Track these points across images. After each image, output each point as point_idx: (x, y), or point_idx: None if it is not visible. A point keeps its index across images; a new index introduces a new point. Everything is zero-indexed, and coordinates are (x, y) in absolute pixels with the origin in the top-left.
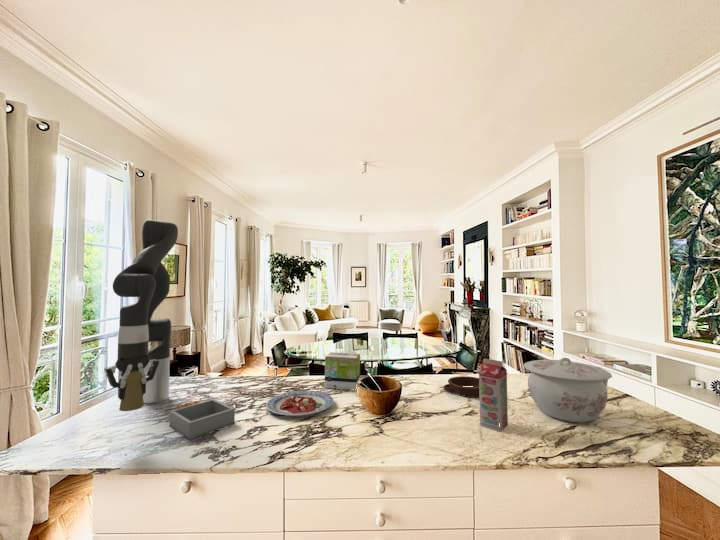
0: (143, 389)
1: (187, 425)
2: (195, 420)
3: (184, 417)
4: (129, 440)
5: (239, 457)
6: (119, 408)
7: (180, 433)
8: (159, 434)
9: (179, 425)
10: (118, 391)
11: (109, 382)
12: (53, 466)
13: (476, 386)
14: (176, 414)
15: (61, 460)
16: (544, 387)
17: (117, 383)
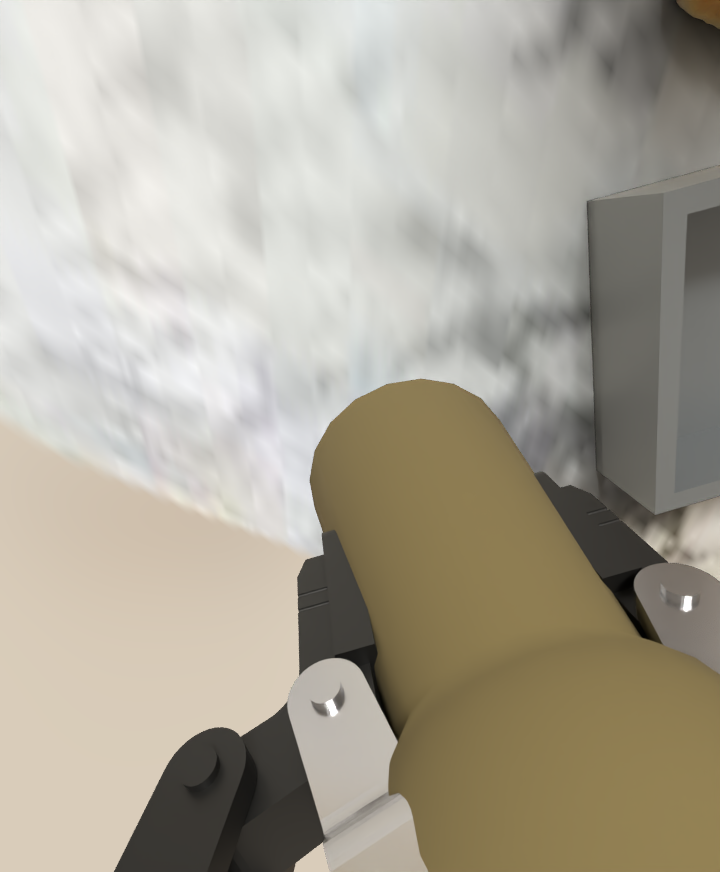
0: None
1: (641, 484)
2: (694, 495)
3: (675, 411)
4: (356, 292)
5: None
6: (311, 489)
7: (594, 374)
8: (508, 308)
9: (621, 372)
10: (304, 648)
11: (138, 861)
12: (17, 414)
13: None
14: (666, 317)
15: (31, 358)
16: None
17: (292, 854)
